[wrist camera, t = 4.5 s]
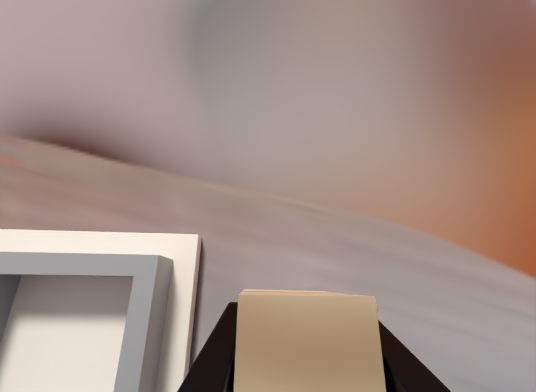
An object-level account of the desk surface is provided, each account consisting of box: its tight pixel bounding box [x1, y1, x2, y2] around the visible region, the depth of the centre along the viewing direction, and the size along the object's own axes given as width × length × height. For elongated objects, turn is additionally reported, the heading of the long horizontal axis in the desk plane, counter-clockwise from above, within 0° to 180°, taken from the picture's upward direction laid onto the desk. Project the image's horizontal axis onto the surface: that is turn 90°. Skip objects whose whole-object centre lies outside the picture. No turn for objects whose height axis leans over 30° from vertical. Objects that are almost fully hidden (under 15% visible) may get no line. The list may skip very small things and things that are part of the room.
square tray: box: [0, 229, 202, 392], centre depth 12 cm, size 12×12×4 cm
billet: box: [234, 289, 386, 392], centre depth 11 cm, size 4×4×9 cm
